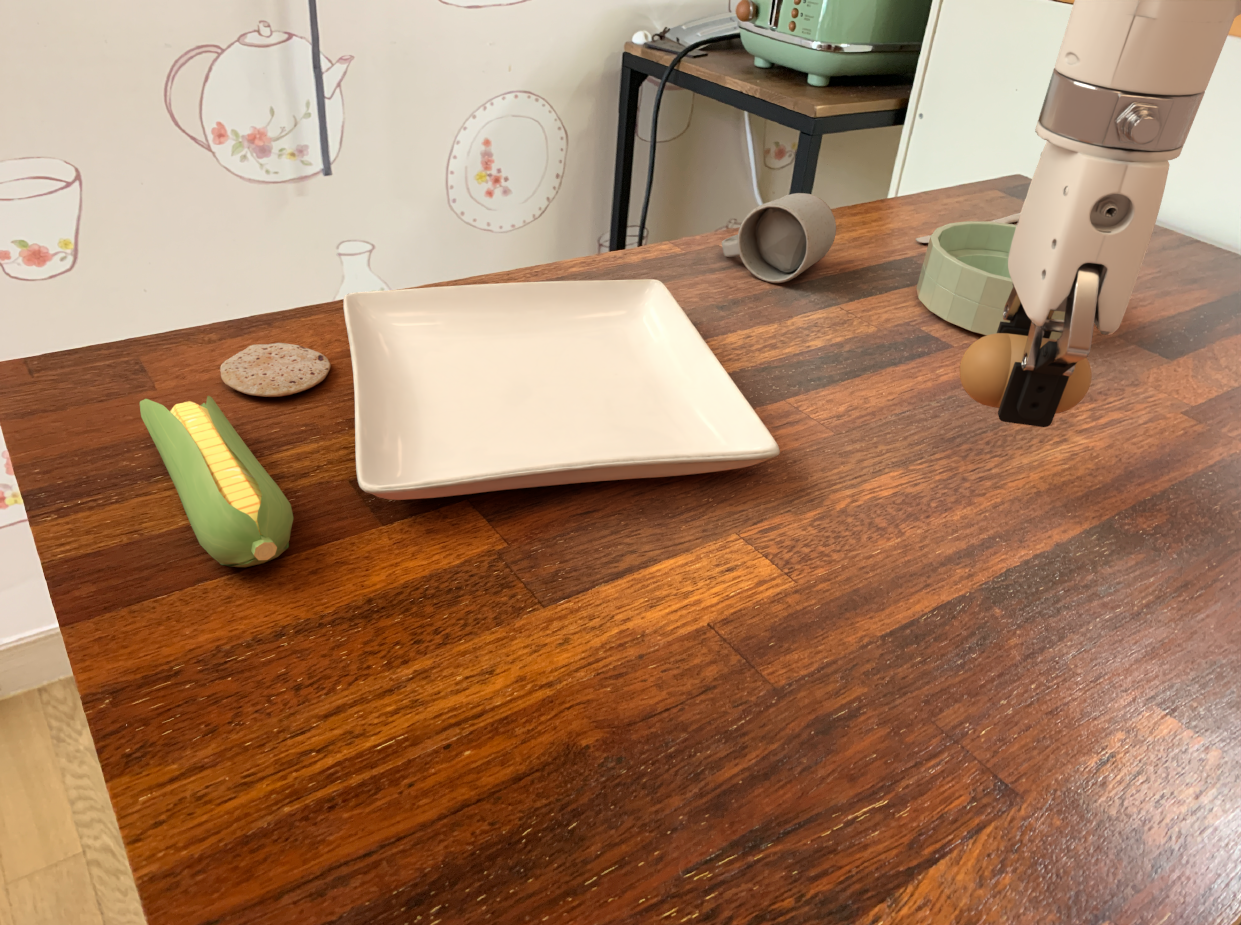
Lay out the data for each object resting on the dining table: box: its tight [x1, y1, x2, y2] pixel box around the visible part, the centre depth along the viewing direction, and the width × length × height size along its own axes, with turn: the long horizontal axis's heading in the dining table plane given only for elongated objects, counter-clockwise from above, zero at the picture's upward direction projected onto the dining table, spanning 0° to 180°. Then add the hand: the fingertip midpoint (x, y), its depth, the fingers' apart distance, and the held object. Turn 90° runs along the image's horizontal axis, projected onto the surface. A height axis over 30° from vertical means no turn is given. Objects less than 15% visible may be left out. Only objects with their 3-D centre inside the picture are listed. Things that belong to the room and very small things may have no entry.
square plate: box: [342, 278, 781, 501], centre depth 69 cm, size 27×27×4 cm
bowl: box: [915, 220, 1065, 340], centre depth 88 cm, size 15×15×6 cm
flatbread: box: [219, 342, 332, 398], centre depth 70 cm, size 8×8×1 cm
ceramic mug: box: [721, 192, 837, 284], centre depth 92 cm, size 11×8×8 cm
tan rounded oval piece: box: [958, 333, 1092, 415], centre depth 60 cm, size 8×5×5 cm, turn 80°
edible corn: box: [139, 395, 294, 568], centre depth 57 cm, size 5×20×5 cm, turn 36°
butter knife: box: [915, 211, 1021, 244], centre depth 109 cm, size 1×27×3 cm
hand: (1016, 397), depth 61 cm, fingers closed on tan rounded oval piece, 4 cm apart
